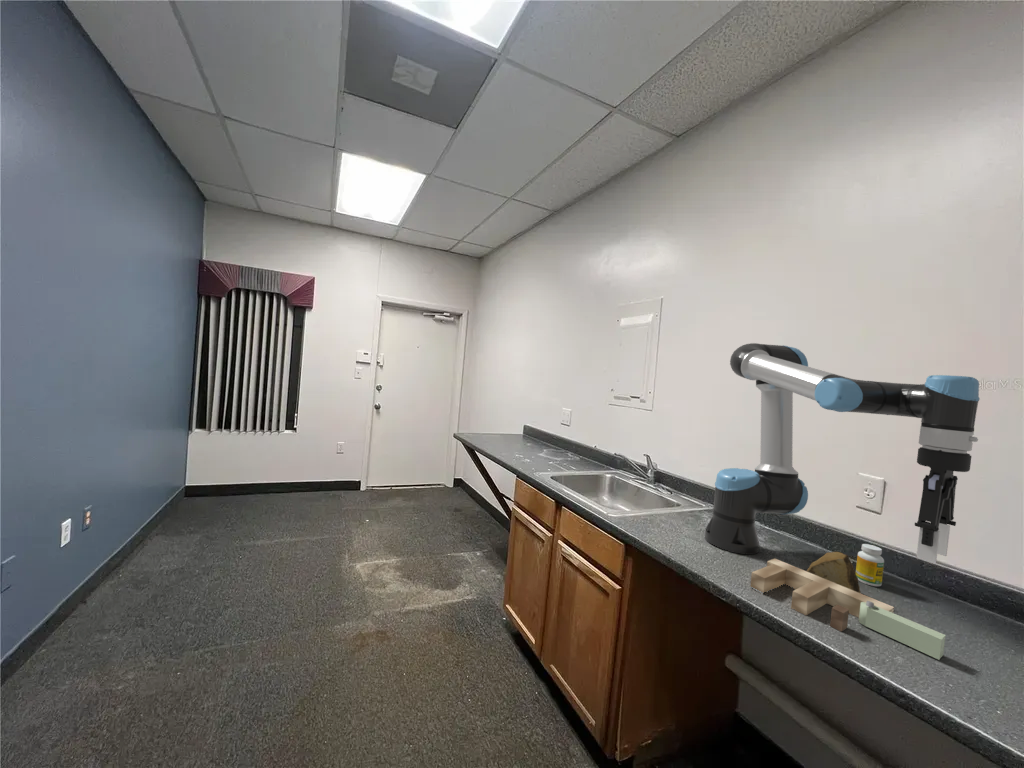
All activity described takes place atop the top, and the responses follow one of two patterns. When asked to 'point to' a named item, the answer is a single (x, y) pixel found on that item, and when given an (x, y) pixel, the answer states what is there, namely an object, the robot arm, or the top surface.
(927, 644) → the hinged leg
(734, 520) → the robot arm
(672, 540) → the top surface
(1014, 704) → the top surface
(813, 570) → the rock
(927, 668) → the top surface
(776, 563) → the stool frame
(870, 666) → the top surface
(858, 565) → the supplement bottle
